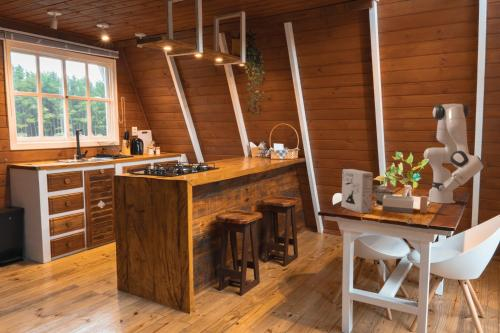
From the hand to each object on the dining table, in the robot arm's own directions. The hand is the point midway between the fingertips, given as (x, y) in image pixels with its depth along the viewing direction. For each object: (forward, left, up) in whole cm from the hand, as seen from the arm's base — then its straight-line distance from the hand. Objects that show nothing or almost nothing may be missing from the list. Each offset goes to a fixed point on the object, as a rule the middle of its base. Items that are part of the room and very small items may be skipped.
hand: (439, 192), depth 243 cm
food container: (-15, -34, -13) cm, 39 cm away
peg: (0, -9, -13) cm, 16 cm away
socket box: (0, -24, -13) cm, 27 cm away
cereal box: (+11, -49, -13) cm, 52 cm away
